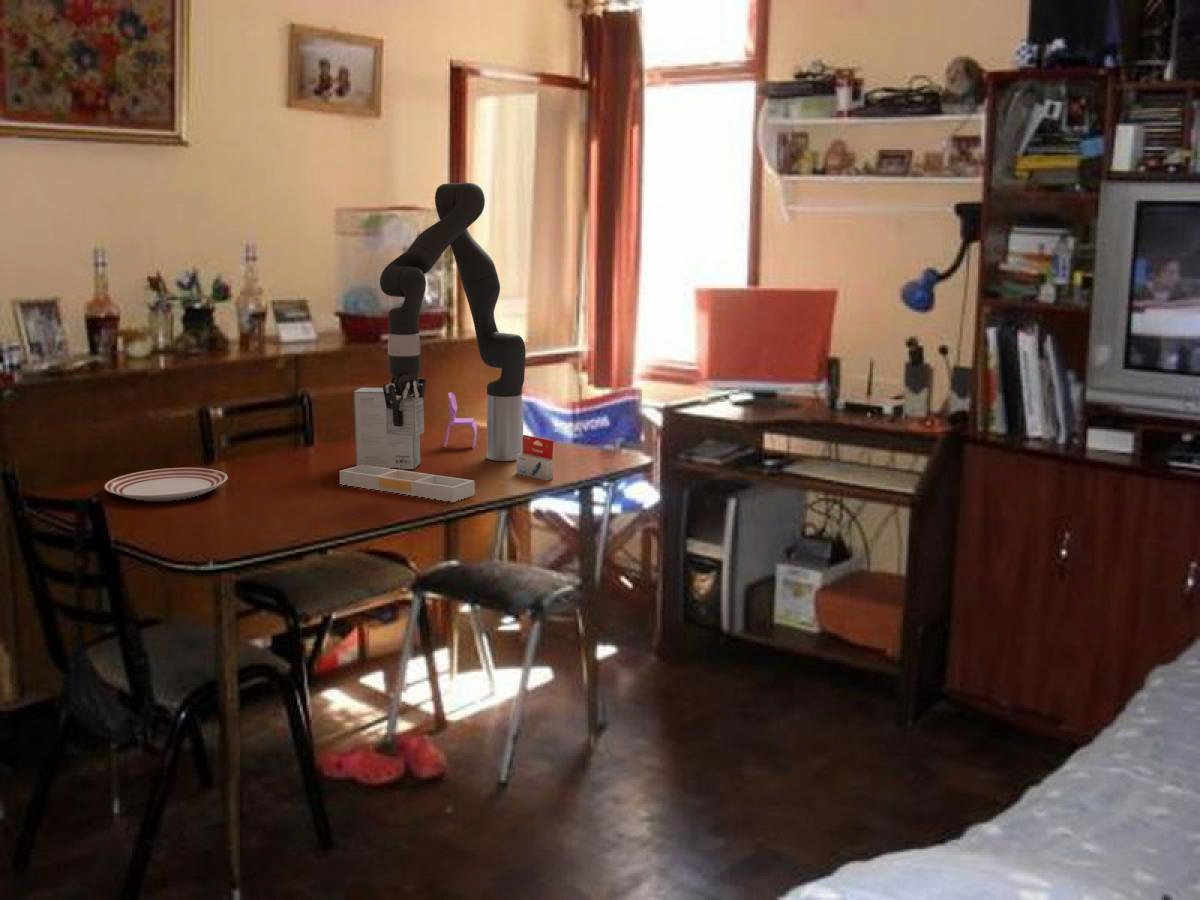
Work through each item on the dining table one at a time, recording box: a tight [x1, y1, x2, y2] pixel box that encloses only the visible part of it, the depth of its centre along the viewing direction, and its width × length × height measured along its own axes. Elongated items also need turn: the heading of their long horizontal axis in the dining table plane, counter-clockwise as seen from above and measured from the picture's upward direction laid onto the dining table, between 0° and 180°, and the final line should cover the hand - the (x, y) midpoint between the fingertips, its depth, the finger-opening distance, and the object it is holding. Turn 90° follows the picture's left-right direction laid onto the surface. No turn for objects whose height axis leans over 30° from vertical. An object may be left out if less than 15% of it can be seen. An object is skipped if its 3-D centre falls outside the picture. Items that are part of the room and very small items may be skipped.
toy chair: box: [442, 391, 478, 449], centre depth 369 cm, size 8×9×15 cm
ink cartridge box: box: [516, 434, 554, 481], centre depth 334 cm, size 2×11×10 cm, turn 47°
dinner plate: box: [104, 467, 229, 502], centre depth 313 cm, size 28×27×3 cm
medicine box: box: [386, 396, 425, 436], centre depth 315 cm, size 8×4×9 cm, turn 71°
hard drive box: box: [353, 387, 422, 470], centre depth 342 cm, size 16×8×20 cm, turn 84°
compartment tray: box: [339, 465, 476, 503], centre depth 318 cm, size 9×33×4 cm, turn 61°
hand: (405, 424), depth 315 cm, fingers closed on medicine box, 5 cm apart
